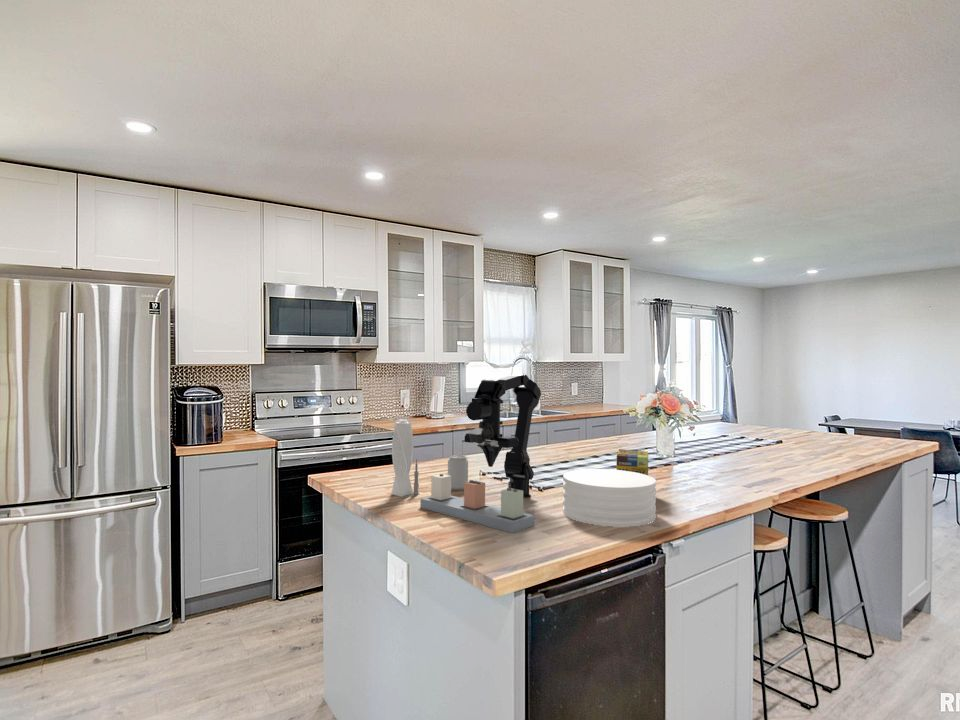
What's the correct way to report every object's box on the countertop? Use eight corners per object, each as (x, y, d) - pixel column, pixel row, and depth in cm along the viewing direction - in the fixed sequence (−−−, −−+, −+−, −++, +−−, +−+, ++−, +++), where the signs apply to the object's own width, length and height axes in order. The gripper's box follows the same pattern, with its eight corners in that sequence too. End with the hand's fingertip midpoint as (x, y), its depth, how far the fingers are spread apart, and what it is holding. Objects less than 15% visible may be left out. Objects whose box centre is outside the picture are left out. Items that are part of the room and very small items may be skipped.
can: (465, 491, 196) (465, 458, 196) (445, 490, 198) (445, 457, 198) (469, 487, 203) (470, 454, 203) (450, 485, 205) (450, 454, 205)
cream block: (431, 497, 174) (431, 474, 174) (441, 495, 177) (441, 472, 177) (440, 500, 171) (441, 476, 171) (451, 497, 174) (451, 474, 174)
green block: (500, 515, 154) (501, 488, 154) (510, 512, 158) (511, 486, 158) (513, 518, 151) (513, 491, 151) (523, 515, 155) (523, 488, 155)
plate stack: (544, 513, 169) (545, 476, 169) (595, 498, 188) (595, 465, 189) (624, 534, 149) (625, 492, 149) (672, 515, 168) (672, 478, 169)
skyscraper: (402, 499, 184) (403, 417, 185) (386, 495, 189) (387, 415, 190) (419, 495, 191) (420, 415, 191) (403, 491, 196) (404, 413, 196)
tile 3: (463, 506, 164) (464, 481, 164) (474, 503, 167) (474, 478, 167) (474, 508, 161) (475, 483, 161) (484, 506, 164) (485, 481, 164)
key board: (420, 507, 173) (420, 498, 173) (443, 502, 180) (443, 493, 180) (512, 533, 148) (512, 522, 148) (534, 525, 155) (534, 515, 155)
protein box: (615, 500, 185) (616, 455, 185) (618, 491, 200) (618, 448, 200) (647, 503, 182) (648, 457, 182) (647, 493, 197) (648, 450, 197)
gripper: (453, 417, 175) (452, 466, 175) (497, 422, 163) (496, 474, 163) (476, 415, 184) (475, 461, 183) (520, 419, 171) (519, 469, 171)
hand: (490, 466), depth 175 cm, fingers closed
